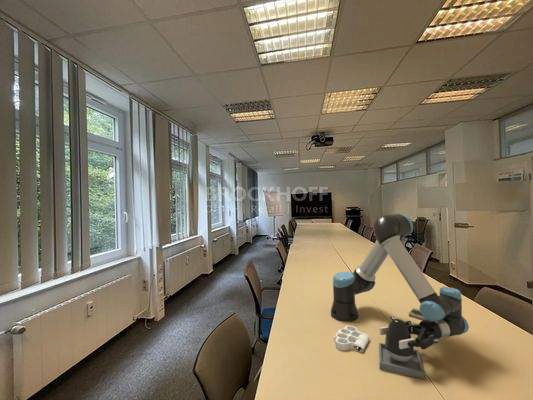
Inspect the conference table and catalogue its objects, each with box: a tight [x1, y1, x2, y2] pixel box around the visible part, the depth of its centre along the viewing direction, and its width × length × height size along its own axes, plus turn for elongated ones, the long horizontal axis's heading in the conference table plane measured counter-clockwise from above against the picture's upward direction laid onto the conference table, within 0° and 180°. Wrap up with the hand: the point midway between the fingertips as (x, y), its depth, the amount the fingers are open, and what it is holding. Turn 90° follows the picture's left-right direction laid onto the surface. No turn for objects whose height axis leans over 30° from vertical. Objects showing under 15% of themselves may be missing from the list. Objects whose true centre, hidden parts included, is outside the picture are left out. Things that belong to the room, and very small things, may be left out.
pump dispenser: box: [384, 315, 415, 362], centre depth 98 cm, size 10×10×15 cm
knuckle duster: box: [332, 325, 371, 353], centre depth 114 cm, size 3×18×15 cm
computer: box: [408, 307, 427, 321], centre depth 134 cm, size 16×8×3 cm, turn 42°
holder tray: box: [378, 342, 425, 380], centre depth 98 cm, size 15×15×2 cm
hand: (389, 337), depth 97 cm, fingers closed on pump dispenser, 9 cm apart
